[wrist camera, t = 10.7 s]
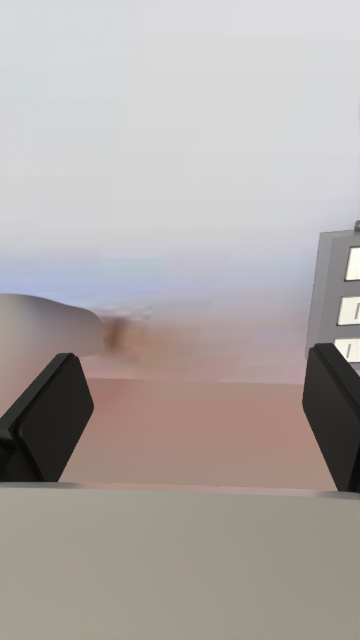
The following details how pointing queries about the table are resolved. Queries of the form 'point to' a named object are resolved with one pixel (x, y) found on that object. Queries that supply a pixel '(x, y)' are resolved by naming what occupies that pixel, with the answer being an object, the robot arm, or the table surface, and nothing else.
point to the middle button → (349, 310)
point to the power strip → (332, 289)
